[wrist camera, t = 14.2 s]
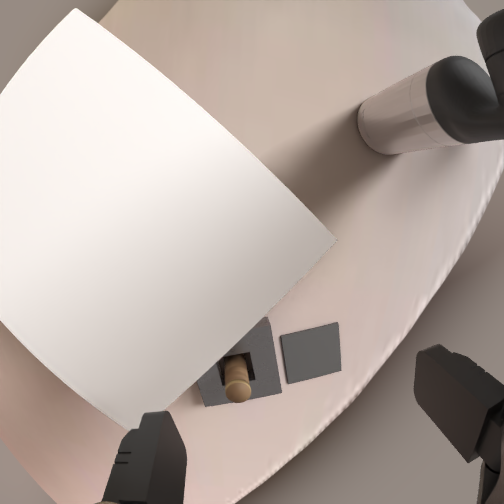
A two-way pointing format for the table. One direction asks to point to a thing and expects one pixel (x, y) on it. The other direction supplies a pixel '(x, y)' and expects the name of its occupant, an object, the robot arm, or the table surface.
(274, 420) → the table surface
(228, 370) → the wooden peg
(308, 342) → the mat
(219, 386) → the gray square frame
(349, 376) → the table surface
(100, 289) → the cube
